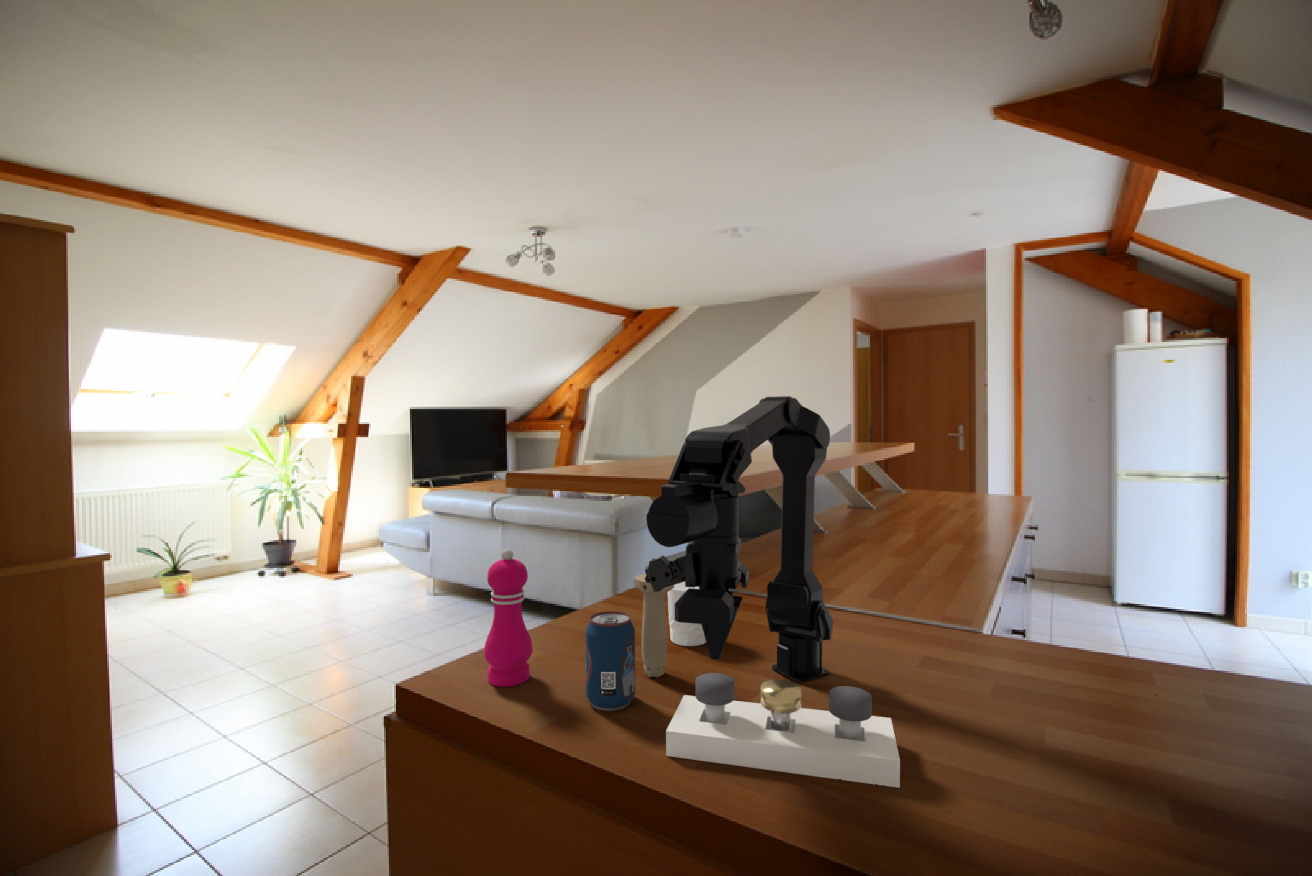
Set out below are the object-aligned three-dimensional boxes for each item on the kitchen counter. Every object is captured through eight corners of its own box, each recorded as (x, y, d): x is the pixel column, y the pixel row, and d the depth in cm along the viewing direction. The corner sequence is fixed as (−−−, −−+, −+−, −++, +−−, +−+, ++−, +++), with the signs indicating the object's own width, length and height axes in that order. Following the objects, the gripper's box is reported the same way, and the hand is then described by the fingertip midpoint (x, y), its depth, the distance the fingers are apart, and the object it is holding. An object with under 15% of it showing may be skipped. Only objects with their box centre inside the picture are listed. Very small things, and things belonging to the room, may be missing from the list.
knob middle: (801, 719, 79) (802, 681, 79) (800, 738, 74) (800, 698, 74) (762, 714, 80) (762, 677, 80) (758, 733, 76) (758, 693, 76)
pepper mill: (542, 673, 100) (540, 546, 99) (513, 692, 94) (511, 556, 93) (504, 666, 103) (503, 542, 102) (474, 683, 97) (472, 551, 96)
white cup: (660, 644, 113) (660, 588, 112) (676, 630, 120) (676, 577, 120) (703, 650, 110) (703, 592, 110) (716, 635, 117) (716, 581, 117)
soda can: (589, 690, 94) (588, 609, 94) (636, 691, 94) (636, 609, 93) (582, 712, 87) (581, 625, 87) (633, 713, 87) (633, 625, 86)
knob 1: (736, 711, 81) (737, 675, 81) (731, 729, 77) (731, 691, 76) (699, 707, 82) (699, 671, 82) (692, 725, 78) (691, 686, 78)
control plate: (890, 742, 79) (890, 718, 79) (899, 787, 69) (899, 760, 69) (684, 717, 86) (684, 695, 86) (666, 755, 76) (666, 730, 76)
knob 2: (870, 727, 77) (870, 688, 77) (872, 747, 72) (873, 706, 72) (828, 722, 78) (828, 684, 78) (828, 741, 74) (829, 701, 73)
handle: (662, 684, 96) (661, 585, 95) (628, 674, 100) (628, 578, 99) (680, 674, 100) (680, 578, 99) (647, 664, 104) (646, 572, 103)
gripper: (669, 518, 90) (669, 628, 90) (629, 545, 72) (630, 682, 72) (749, 521, 87) (749, 635, 88) (729, 550, 69) (729, 693, 69)
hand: (715, 658), depth 79 cm, fingers closed
